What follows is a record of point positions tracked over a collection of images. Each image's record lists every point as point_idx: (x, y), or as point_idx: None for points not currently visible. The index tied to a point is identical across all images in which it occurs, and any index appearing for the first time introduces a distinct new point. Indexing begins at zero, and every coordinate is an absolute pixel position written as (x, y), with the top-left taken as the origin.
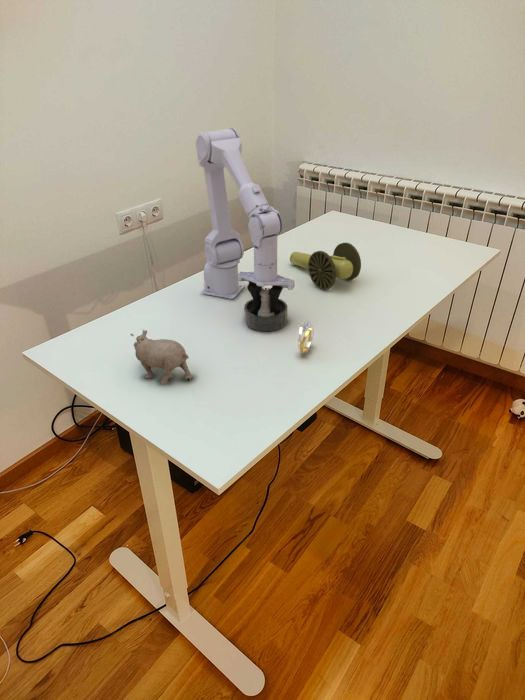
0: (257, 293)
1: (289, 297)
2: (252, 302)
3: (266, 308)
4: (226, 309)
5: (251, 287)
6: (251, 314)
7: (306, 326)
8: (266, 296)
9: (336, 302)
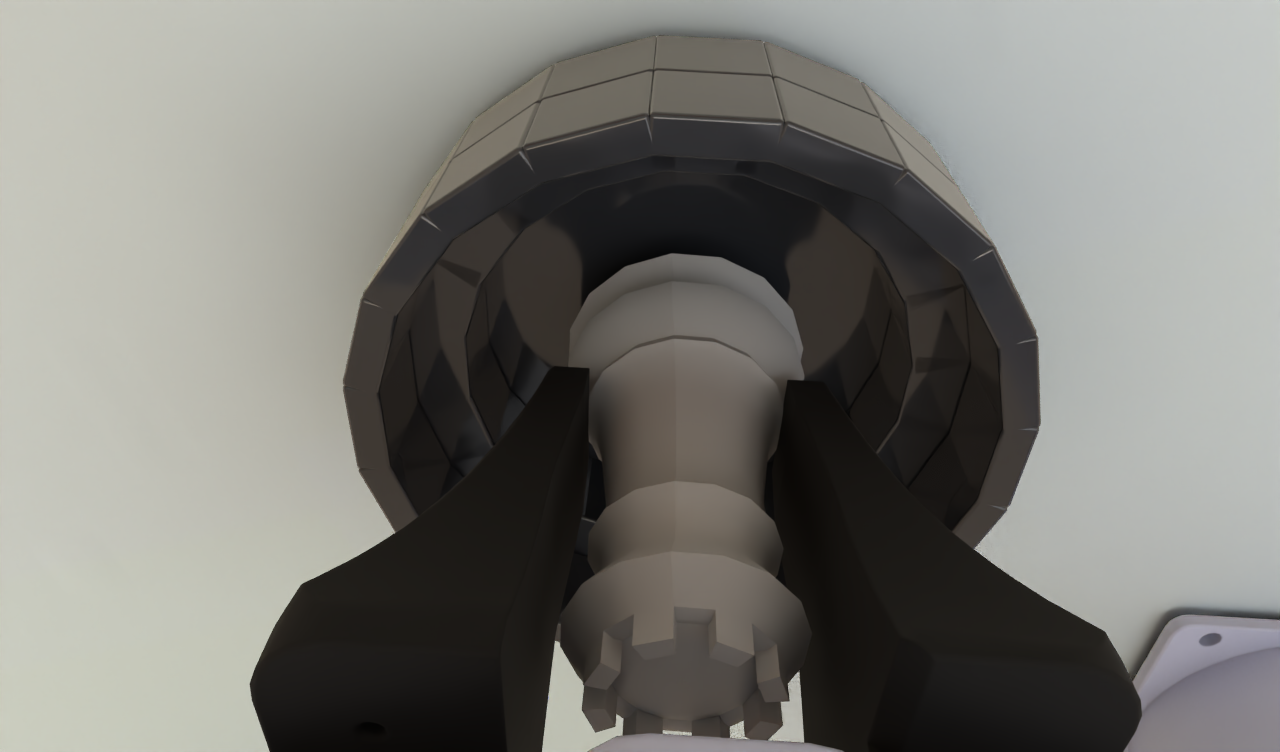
0: (844, 602)
1: None
2: None
3: (650, 396)
4: (1245, 433)
5: (1019, 702)
6: (862, 166)
7: None
8: (633, 559)
9: (182, 735)
